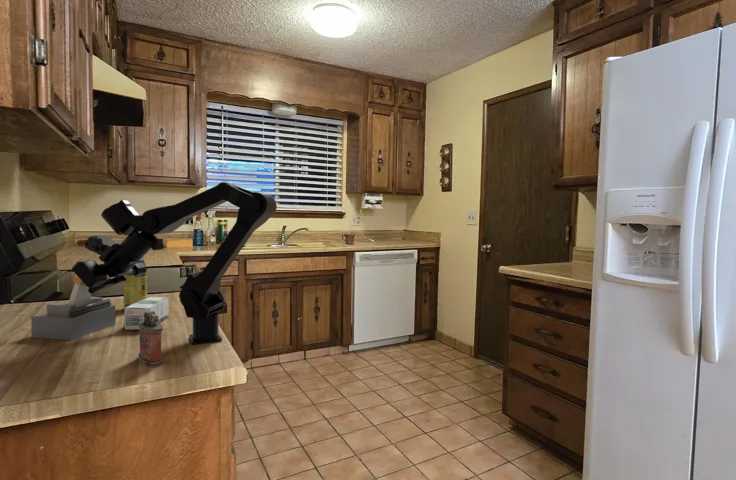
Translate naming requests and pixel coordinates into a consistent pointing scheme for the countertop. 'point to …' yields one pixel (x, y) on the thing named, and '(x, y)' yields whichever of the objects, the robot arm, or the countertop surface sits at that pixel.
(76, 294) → the lever
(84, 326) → the block
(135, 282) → the sauce bottle
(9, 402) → the countertop surface
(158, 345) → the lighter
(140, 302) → the syrup box
